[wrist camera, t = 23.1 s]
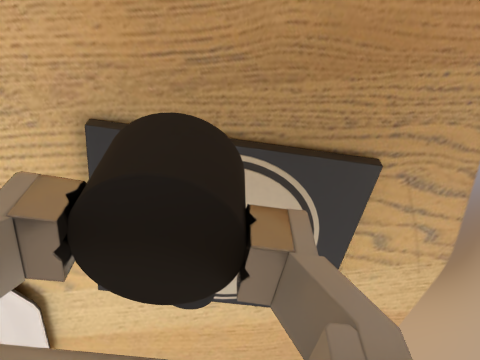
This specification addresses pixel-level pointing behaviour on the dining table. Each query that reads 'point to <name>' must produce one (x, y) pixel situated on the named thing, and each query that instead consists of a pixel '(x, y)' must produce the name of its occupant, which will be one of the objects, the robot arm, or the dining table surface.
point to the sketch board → (286, 188)
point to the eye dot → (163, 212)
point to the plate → (21, 321)
